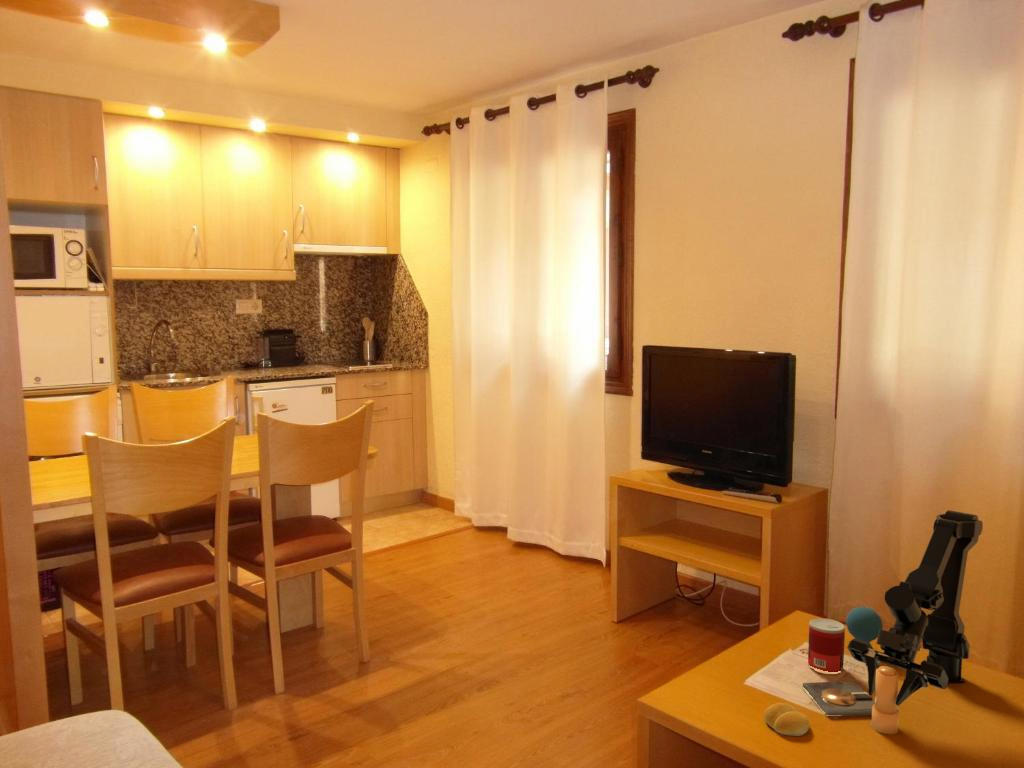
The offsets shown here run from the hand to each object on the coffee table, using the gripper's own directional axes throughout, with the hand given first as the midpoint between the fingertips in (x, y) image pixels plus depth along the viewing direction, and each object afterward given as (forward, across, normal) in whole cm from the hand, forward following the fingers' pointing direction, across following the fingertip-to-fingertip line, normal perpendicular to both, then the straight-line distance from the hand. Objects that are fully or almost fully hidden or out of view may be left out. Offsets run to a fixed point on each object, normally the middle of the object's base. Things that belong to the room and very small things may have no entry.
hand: (883, 699), depth 158 cm
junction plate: (+1, -11, +8) cm, 14 cm away
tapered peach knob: (+4, 0, +6) cm, 7 cm away
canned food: (-8, -21, +18) cm, 29 cm away
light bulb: (-18, -18, +28) cm, 38 cm away
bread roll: (+14, -14, -4) cm, 20 cm away
